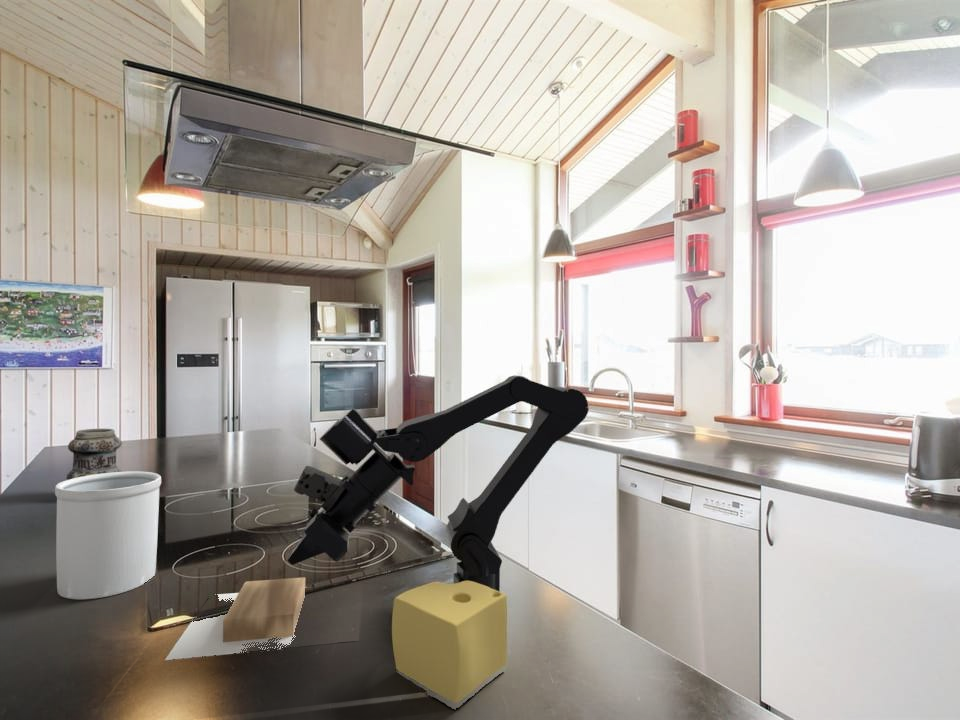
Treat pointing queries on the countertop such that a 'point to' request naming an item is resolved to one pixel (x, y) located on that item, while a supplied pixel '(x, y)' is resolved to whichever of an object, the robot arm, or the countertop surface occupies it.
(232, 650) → the mat
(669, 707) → the countertop surface
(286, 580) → the oak board
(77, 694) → the countertop surface
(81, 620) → the countertop surface
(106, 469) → the apothecary jar
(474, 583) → the cheese
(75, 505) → the utensil holder
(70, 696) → the countertop surface
